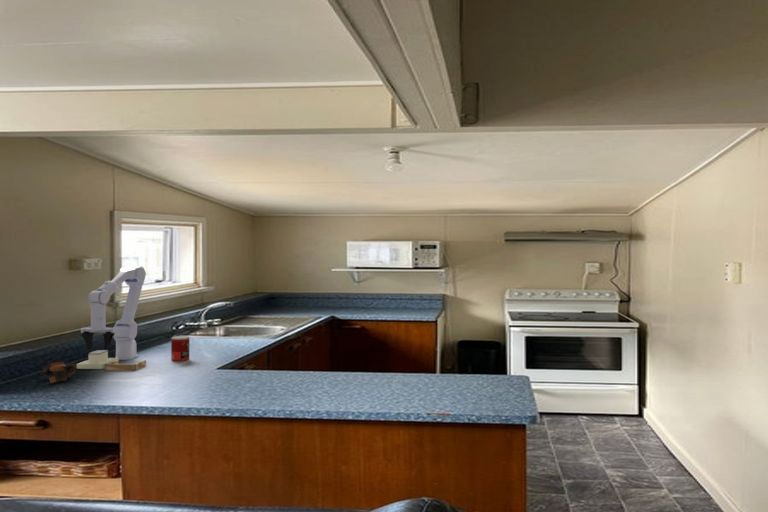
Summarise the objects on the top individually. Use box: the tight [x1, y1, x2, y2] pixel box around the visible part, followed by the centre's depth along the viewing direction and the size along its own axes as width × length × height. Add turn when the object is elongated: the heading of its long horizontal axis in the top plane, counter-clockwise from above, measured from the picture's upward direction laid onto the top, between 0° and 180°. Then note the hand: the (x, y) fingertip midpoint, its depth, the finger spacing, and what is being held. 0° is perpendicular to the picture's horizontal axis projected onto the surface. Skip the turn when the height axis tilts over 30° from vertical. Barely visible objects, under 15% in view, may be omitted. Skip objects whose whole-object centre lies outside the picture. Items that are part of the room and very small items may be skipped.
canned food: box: [170, 335, 190, 362], centre depth 239 cm, size 8×8×11 cm
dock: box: [104, 359, 147, 372], centre depth 221 cm, size 10×13×3 cm
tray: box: [76, 357, 120, 370], centre depth 225 cm, size 13×11×2 cm
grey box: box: [88, 349, 109, 364], centre depth 226 cm, size 8×5×6 cm, turn 178°
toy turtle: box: [41, 361, 78, 384], centre depth 202 cm, size 12×10×8 cm
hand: (98, 349), depth 225 cm, fingers open, 7 cm apart
